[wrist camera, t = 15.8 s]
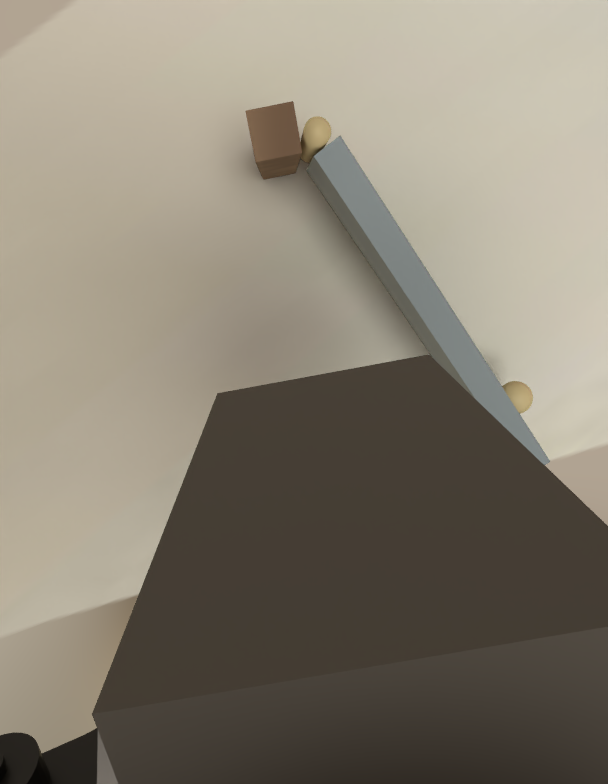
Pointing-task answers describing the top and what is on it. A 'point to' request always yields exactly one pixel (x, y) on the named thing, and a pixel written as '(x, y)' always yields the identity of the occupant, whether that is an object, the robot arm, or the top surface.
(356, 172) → the door
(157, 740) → the block
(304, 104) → the top surface
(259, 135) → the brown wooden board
